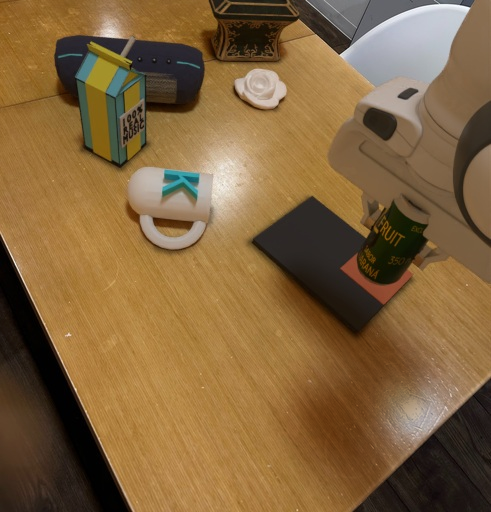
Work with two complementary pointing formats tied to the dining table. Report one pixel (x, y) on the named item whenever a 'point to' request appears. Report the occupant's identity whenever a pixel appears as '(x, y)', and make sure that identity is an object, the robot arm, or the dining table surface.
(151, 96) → the portable speaker
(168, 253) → the dining table surface
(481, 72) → the robot arm
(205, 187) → the mug
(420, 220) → the beer can
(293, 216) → the mat
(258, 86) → the rose
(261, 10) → the decorative box
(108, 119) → the carton
